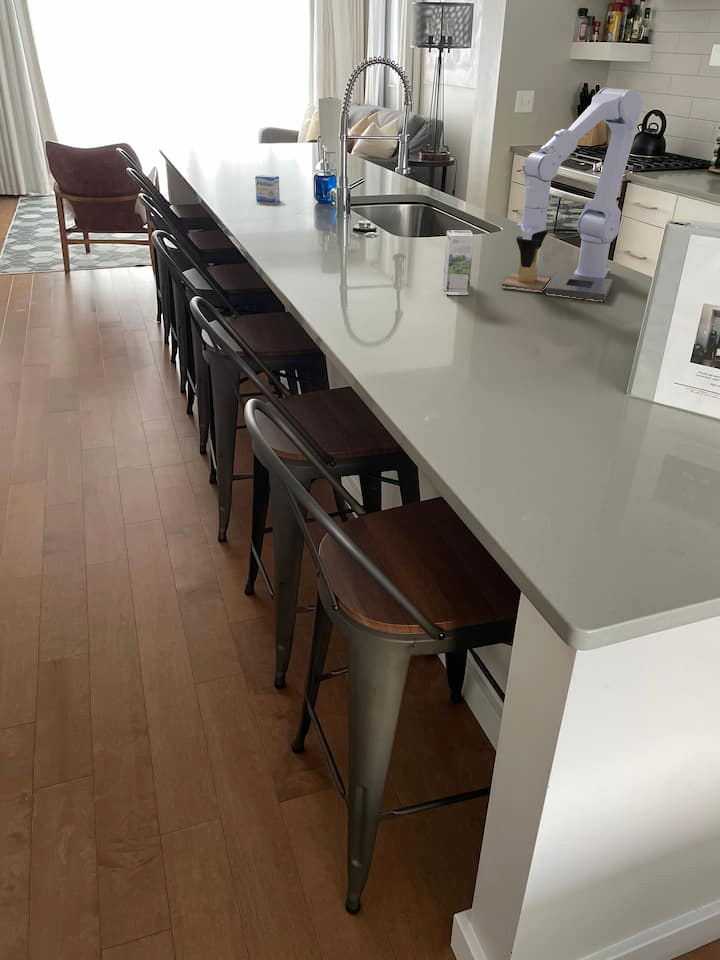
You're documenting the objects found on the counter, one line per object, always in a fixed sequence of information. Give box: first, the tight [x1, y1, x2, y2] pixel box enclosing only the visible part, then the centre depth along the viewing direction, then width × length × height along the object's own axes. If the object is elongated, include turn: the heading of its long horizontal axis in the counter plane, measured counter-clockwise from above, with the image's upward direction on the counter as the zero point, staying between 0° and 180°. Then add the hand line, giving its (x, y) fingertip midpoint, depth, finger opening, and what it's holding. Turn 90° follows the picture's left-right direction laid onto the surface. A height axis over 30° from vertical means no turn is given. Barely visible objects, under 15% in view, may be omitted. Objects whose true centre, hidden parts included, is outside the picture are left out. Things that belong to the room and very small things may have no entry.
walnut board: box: [501, 271, 553, 292], centre depth 199 cm, size 12×10×1 cm
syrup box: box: [442, 229, 475, 293], centre depth 189 cm, size 6×6×14 cm
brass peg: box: [518, 246, 542, 283], centre depth 196 cm, size 4×4×8 cm
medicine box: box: [254, 174, 281, 203], centre depth 292 cm, size 8×4×9 cm, turn 73°
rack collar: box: [544, 272, 613, 301], centre depth 194 cm, size 14×14×2 cm
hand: (529, 263), depth 196 cm, fingers open, 7 cm apart
